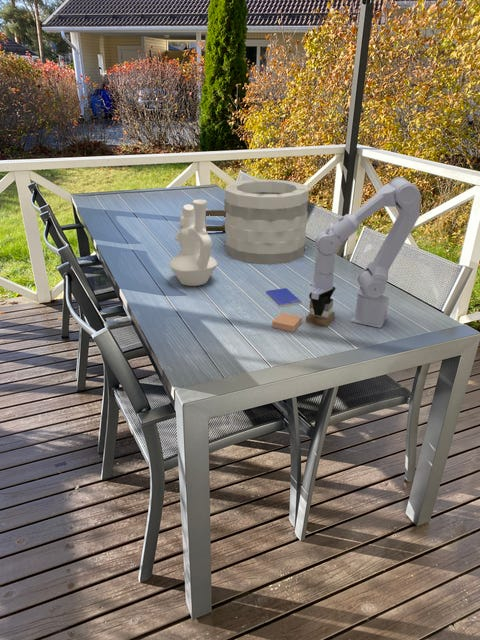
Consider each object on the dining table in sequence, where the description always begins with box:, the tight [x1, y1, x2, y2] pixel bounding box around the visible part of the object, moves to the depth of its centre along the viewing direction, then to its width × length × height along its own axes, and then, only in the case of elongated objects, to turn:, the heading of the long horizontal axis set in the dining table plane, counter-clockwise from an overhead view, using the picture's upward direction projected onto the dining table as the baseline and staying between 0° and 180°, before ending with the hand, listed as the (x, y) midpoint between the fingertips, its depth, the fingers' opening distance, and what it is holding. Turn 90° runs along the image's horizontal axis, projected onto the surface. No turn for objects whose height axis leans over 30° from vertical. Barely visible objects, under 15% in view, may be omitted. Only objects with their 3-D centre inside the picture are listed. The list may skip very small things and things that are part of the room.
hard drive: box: [265, 287, 303, 308], centre depth 173 cm, size 2×8×12 cm
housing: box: [308, 298, 334, 319], centre depth 156 cm, size 6×4×5 cm
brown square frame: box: [206, 209, 226, 231], centre depth 252 cm, size 31×31×5 cm
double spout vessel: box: [168, 199, 218, 287], centre depth 178 cm, size 18×22×32 cm
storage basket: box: [223, 179, 310, 266], centre depth 212 cm, size 35×35×27 cm
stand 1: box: [271, 312, 303, 333], centre depth 155 cm, size 7×7×2 cm
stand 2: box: [305, 311, 335, 328], centre depth 158 cm, size 7×7×2 cm
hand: (320, 311), depth 157 cm, fingers closed on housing, 4 cm apart
